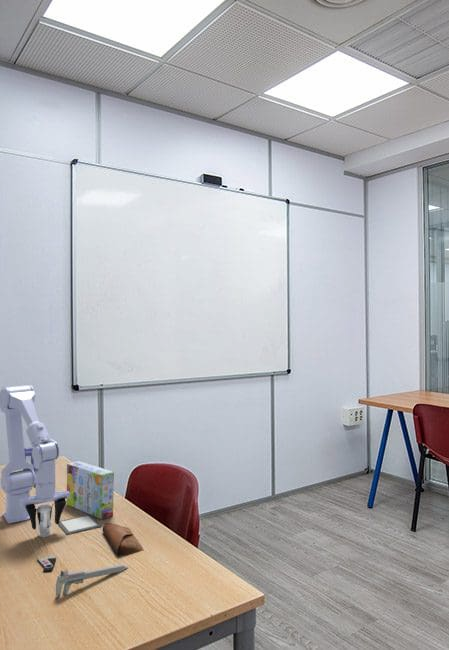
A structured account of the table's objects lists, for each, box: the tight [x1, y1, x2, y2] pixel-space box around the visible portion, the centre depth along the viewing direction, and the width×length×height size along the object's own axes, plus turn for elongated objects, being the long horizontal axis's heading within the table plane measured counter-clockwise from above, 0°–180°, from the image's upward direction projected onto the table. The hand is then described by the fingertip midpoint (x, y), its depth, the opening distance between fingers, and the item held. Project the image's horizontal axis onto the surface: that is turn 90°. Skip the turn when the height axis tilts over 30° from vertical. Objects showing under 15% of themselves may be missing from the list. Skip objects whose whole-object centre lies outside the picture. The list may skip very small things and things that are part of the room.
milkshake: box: [36, 503, 55, 538], centre depth 155 cm, size 4×5×10 cm
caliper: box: [55, 564, 129, 599], centre depth 128 cm, size 20×1×6 cm, turn 137°
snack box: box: [66, 460, 115, 520], centre depth 176 cm, size 21×6×15 cm, turn 50°
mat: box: [57, 514, 102, 535], centre depth 163 cm, size 11×11×1 cm
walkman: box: [22, 447, 36, 475], centre depth 214 cm, size 8×3×12 cm, turn 102°
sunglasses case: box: [102, 522, 144, 558], centre depth 151 cm, size 18×7×7 cm, turn 27°
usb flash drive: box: [36, 555, 57, 573], centre depth 137 cm, size 9×5×1 cm, turn 10°
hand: (45, 525), depth 155 cm, fingers open, 6 cm apart
